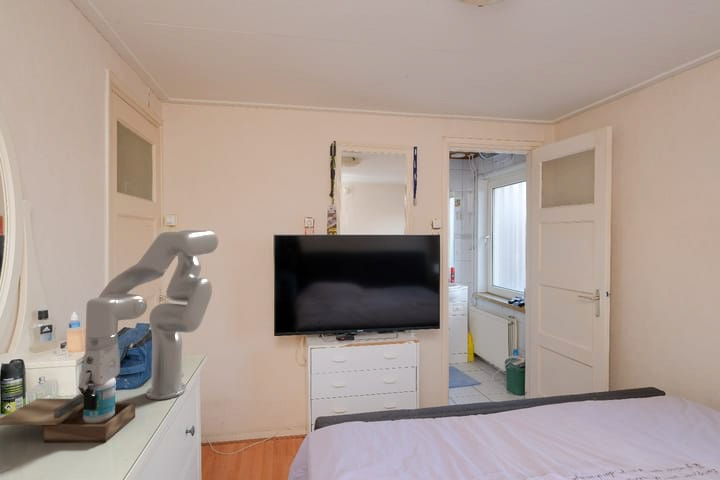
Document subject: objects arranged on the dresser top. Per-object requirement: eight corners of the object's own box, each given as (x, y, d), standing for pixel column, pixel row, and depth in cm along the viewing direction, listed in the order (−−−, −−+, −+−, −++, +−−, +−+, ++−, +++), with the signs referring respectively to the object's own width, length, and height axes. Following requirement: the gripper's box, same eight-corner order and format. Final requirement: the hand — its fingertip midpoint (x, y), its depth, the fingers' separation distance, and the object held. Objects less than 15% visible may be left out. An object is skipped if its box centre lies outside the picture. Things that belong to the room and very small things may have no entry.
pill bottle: (76, 421, 103) (77, 373, 103) (102, 410, 110) (103, 365, 110) (95, 426, 101) (96, 377, 101) (121, 414, 108) (122, 368, 108)
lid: (37, 401, 111) (37, 390, 111) (92, 401, 112) (92, 390, 112) (-7, 424, 97) (-7, 412, 97) (56, 424, 98) (56, 412, 98)
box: (81, 417, 112) (81, 402, 112) (135, 417, 113) (135, 402, 113) (43, 442, 98) (44, 426, 98) (105, 442, 99) (106, 426, 99)
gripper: (94, 350, 97) (92, 417, 97) (132, 333, 114) (130, 390, 114) (65, 350, 96) (63, 417, 96) (107, 333, 114) (106, 390, 114)
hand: (100, 402), depth 105 cm, fingers closed on pill bottle, 7 cm apart
